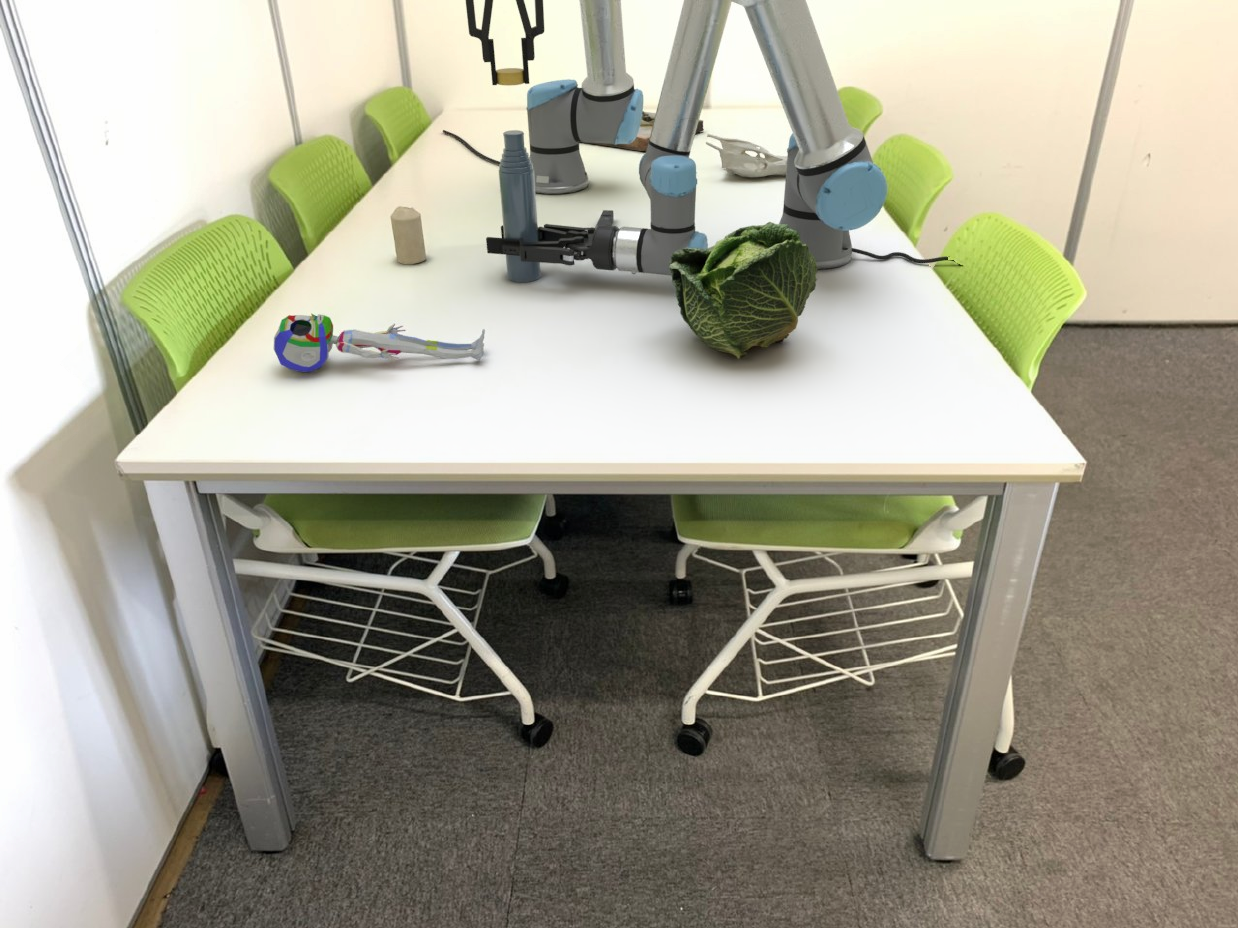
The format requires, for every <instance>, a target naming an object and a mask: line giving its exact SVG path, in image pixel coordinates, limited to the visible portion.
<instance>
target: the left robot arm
mask: <svg viewBox="0 0 1238 928" xmlns="http://www.w3.org/2000/svg"><path fill="white" fill-rule="evenodd" d="M578 1H579V9H580V19H581V28H582V38H583V48H584V56H585V66H586V67H585V68H586V77H585V78H584V80H583V81H582V82H581V87H579V84H578V82H577V80H576V79H569V78H568V79H558V80H552V81H546V82H543V83H542V82H541V83H538V84H535V85H532V86H531V87H530V88H529V89H528V90H527V93H526V109H525V110H526V113H527V114H526V115H527V127H528V140H529V141H528V142H529V158H530V159H531V162H532V163H533V168H534V176H535V192H536V193H537V194H543V195H544V194H545V195H562V194H570V193H576V192H579V191H583V190H584V189H586V188H587V187H589V175H588V173H587V171H586V168H585V164H584V161H583V158H582V156H581V153H580V143H585V142H588V143H587V144H592V143H608V144H615V145H616V144H629V143H632V142H633V141H634V140H635V139H636V137H637V135H638V132H639V128H640V124H641V119H642V113H643V111H644V93H643V90H641V89H639V88H635V81H634V78H633V76H631V75H630V74H629V73H628V72H627V66H626V53H625V40H624V25H623V12H622V11H623V10H622V0H578ZM515 3H516V6H517V9H518V13H519V16H520V20H521V24H522V28H523V31H524V34H525V35H524V36H525V37H520V41H521V42H520V43H521V58H522V69H523V70H524V82H525V83H524V85H530V72H529V71H530V70H529V61H535V58H536V57H535V38H536V37H538V36H539V35H543V34H544V33H545V13H544V0H534V14H535V26H533V27H532V25H531V20H530V18H529V14H528V11H527V5H526V2H525V0H515ZM493 6H494V0H484V5H483V13H482V20H481V21H482V22H481V28H478V27H477V21H476V10H475V0H465V9H466V15H467V16H466V18H467V27H468V34H469V36H470V37H472V38H473V37H474V38H476V39H479V41H480V43H481V53H482V60H483V62H484V63H490V74H491V83H492V84H491V85H492V86H497V85H498V84H497V78H496V70H497V67H496V55H495V54H496V53H495V44H494V42H495V41H494V38H489V37H490V30H491V29H490V28H491V20H492V14H493ZM442 133H443V134H445V135H448V136H450V137H453V138H455V139H456V140H458V141H460V142H461V143H462V144H464V146H466V147H467V148H468V149H469V150H470V151H471V152H473V153H474V154H475V155H477V156H479V157H480V158H481V159H484V160H485V161H488V162H490V163H493V164H496V165H499V164H501V162H500V160H496V159H493V158H491V157H489V156H486V155H484V154H483V153H481V152H479V151H477V150H476V149H475V148H474V147H472V146H471V144H469V143H468V142H467V141H466V140H465V139H463V138H462V137H460V136H459V135H458V134H455V133H452V132H450V131H449V130H445V129H443V130H442Z"/></svg>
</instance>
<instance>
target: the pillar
mask: <svg viewBox="0 0 1238 928" xmlns="http://www.w3.org/2000/svg"><path fill="white" fill-rule="evenodd" d="M614 216H615V215H614V210H613V209H612V210H611V209H602V212H601V214H600V216H599V219H598V221H597V222H596V225H595V227H594V228H595V229H596V228H597V227H598V226H600V225H603V226H613V223H614Z"/></svg>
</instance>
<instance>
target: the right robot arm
mask: <svg viewBox="0 0 1238 928" xmlns="http://www.w3.org/2000/svg"><path fill="white" fill-rule="evenodd" d="M732 3H733V4H737V5H739V6H742V7H743V8H744V11H745V13H746V16H747V18H748V21H749V24H750V26H751V29H752V31H753V35H754V36H755V39H756V41H757V44H758V46H759V49H760V52H761V54H762V58H763V59H764V63H765V65H766V68H767V70H768V72H769V75H770V78H771V80H772V83H773V85H774V88H775V91H776V93H777V96H778V98H779V101H780V103H781V106H782V109H783V111H784V114H785V116H786V119H787V122H788V124H789V127H790V129H791V132H792V134H791V135H790V136H789V139H788V147H787V149H786V153H787V155H786V156H787V169H786V174H785V182H784V183H785V184H784V194H783V195H784V196H783V208H782V215H781V217H780V220H779V223H778V224H788V228H790V229H792V230H794V231H797V232H798V234H799V237H800V240H801V241H800V242H801V244H806V245H807V247H808V248H809V252H810V253H811V255H812V256H813V257H814V258H815V263H816V265H817V267H818V268H817V270H827V269H834V268H837V267H842V266H844V265H846V264H848V263H849V262H851V260H852V256H853V255H852V254H853V253H855V254H859V255H863V256H866V257H870V258H872V259H876V260H880V261H881V260H888V259H890V258H893V257H901V258H904V259H906V260H907V261H910V262H912V263H916V264H932V263H938V262H943V261H944V262H945V261H950V262H954V263H956V262H955V261H954V260H948V257H949V256H948V257H947V256H938V257H932V258H926V259H921V258H916V257H913V256H911V255H909V254H907V253H905V252H901V251H894V252H890V253H888V254H884V255H879V254H875V253H872V252H869V251H867V250H862V249H858V248H854V247H853V244H852V239H851V234H850V231H854V230H858V229H861V228H863V227H865V226H866V225H868V224H869V223H870V222H872V221H873V220H874V219H875V218H876V217H877V216H878V215H879V213H880V212H881V211H882V208H883V206H884V204H885V203H886V200H887V197H888V181H887V179H886V176H885V175H884V172H883V171H882V169H881V167H879V166H878V164H876V163H874V161H873V159H872V156H871V152H870V149H869V147H868V144H867V141H866V139H865V135H864V133H863V131H862V130H861V129H859V128H856V127H854V126H851V125H850V122H849V120H848V117H847V113H846V111H845V108H844V105H843V103H842V100H841V97H840V94H839V91H838V88H837V85H836V83H835V81H834V77H833V74H832V71H831V69H830V66H829V63H828V60H827V57H826V53H825V52H824V47H823V46H822V43H821V40H820V37H819V34H818V32H817V29H816V26H815V23H814V19H813V17H812V14H811V11H810V8H809V6H808V2H807V0H683V3H682V6H681V10H680V15H679V19H678V23H677V27H676V30H675V35H674V39H673V43H672V46H671V51H670V55H669V59H668V63H667V67H666V72H665V75H664V79H663V84H662V88H661V91H660V95H659V99H658V103H657V107H656V110H655V111H656V112H655V113H656V115H655V119H654V123H653V127H652V131H651V135H650V139H649V144H648V147H647V151H645V152H644V153H643V155H642V157H641V159H640V161H639V163H638V176H639V180H640V183H641V184H642V185H641V186H643V188H644V189H645V191H646V194H647V196H648V198H649V201H650V203H649V204H650V228H645V227H635V226H634V227H633V226H621V227H620V228H619V227H618V226H617V225H616V226H614V225H612V226H603V225H600V226H598V227H597V228H596V229H595V227H579V226H571V225H561V224H560V225H559V224H549V223H544V224H543V226H538V239H539V242H523V238H520V239H508V238H504V229H503V224H502V225H501V226H500V234H501V237H493V236H486V237H485V241H486V242H485V243H486V252H487V254H492V255H493V254H494V255H504V256H506V255H516V256H520V261H523V262H540V264H541V263H543V264H545V263H546V264H557V265H559V264H560V265H565V266H570V267H572V266H574V265H575V261H584V260H590V262H592V265H593V267H594V268H595V269H596V270H603V271H615V270H618V271H619V272H629V273H631V274H632V275H637V273H638V274H639V273H640V274H653V275H661V276H669V277H672V275H671V271H670V268H669V263H670V260H671V255H672V254H673V253H674V252H677V251H678V250H680V249H684V248H700V249H708V248H709V244H708V236H707V234H705V233H704V232H700V231H698V230H696V222H695V221H696V201H697V185H698V179H697V164H696V162H695V160H694V159H692V158H691V157H690V154H691V151H692V147H693V143H694V140H695V136H696V134H695V132H696V129H697V125H698V122H699V120H700V117H701V114H702V110H703V107H704V104H705V101H706V96H707V93H708V89H709V85H710V82H711V78H712V75H713V71H714V67H715V63H716V61H717V56H718V53H719V50H720V47H721V42H722V38H723V34H724V31H725V27H726V24H727V20H728V16H729V14H730V9H731V7H732ZM956 264H957V265H958V266H960V267H962V266H961V265H959V264H958V263H956Z"/></svg>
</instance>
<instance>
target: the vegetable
mask: <svg viewBox="0 0 1238 928" xmlns="http://www.w3.org/2000/svg"><path fill="white" fill-rule="evenodd" d="M800 241H801V240H800V237H799V234H798V232H797V231H794V230H792V229H790V228H788V224H779V223H775V222H771V221H768V222H766V223H765V224H760V225H758V224H757V225H753V224H752V225H748V226H744V227H739V228H738V229H736V230H733V231H732V232H731V233H728V234H726V235H725V236H724V238H723V239H719V240H718V241H716V243H715V244H714V245H712V246H711V247H708V249H700V248H684V249H680V250H678V251H677V252H674V253H673V254H672V255H671V260H670V263H669V268H670V271H671V275H672V276H671V284H672V285H673V287H674V288H675V289H676V290H675V297H676V301H677V306H679V309H680V312H679V314H680V316H681V317H682V319H683V321H684V322H685V323H686V325H688V327H689V329H690V330H691V331H692V333H693V334H695V335H696V337H698V338H700V339H701V340H702V342H704V343H705V344H706V345H707V346H709V347H710V348H711V349H713V350H715V351H718V352H722V353H726V354H731V355H733V356H735V357H736V358H737V359H739V360H740V359H741V357H742V356H748V354H747V352H745V351H748V350H749V349H750V348H752V347H755V346H756V347H757V346H758V347H762V348H768V347H769V346H771V344H774V343H783V342H784V340H786V339H788V337H789V336H790V334H791V333H793V332H794V330H796V329H797V325H798V323H799V317H800V316H802V314H803V312H804V310H805V309H806V308H805V307H806V304H807V300H808V299H809V297H810V294H811V293H812V292H813V291H815V290H816V286H817V283H816V282H817V281H818V278H817V273H818V272H817V271H818V269H817V268H818V267H817V265H816V263H815V258H814V257H813V256H812V255H811V253H810V252H809V248H808V247H807V245H806V244H801V242H800Z"/></svg>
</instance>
